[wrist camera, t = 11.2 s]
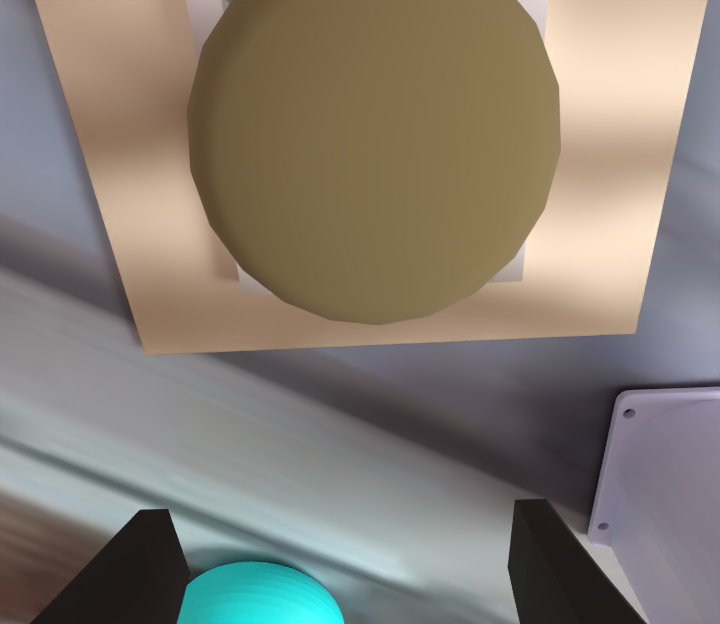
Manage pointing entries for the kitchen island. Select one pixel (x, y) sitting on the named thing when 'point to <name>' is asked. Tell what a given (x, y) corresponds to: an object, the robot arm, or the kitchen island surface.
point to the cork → (374, 148)
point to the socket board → (455, 323)
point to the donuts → (257, 597)
